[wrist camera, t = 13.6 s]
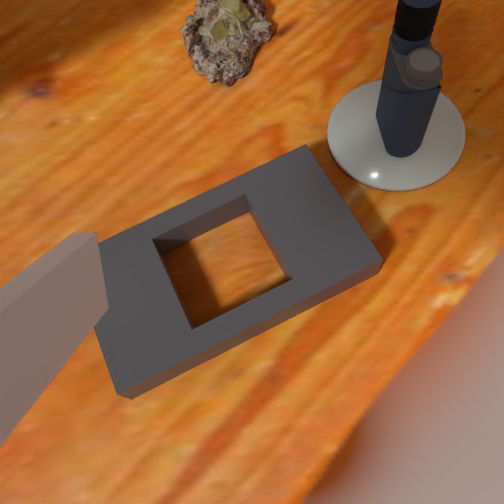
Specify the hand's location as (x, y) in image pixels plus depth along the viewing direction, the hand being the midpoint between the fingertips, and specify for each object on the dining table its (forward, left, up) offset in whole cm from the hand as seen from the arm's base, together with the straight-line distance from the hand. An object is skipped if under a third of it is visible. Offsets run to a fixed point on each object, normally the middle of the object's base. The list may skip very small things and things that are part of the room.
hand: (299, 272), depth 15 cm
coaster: (-12, +14, -16) cm, 25 cm away
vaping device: (-12, +14, -16) cm, 25 cm away
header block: (-8, -2, -16) cm, 18 cm away
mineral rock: (-28, +7, -17) cm, 33 cm away
